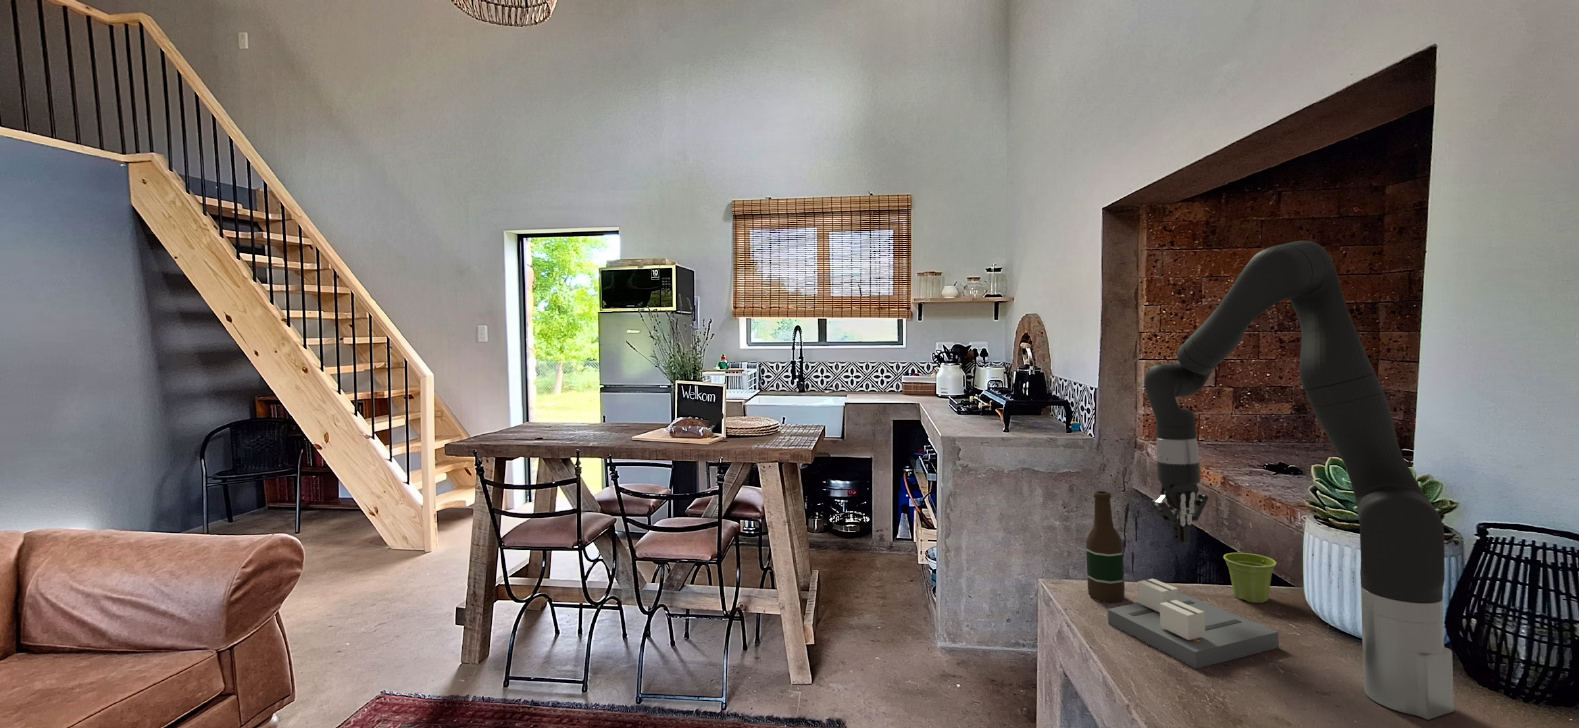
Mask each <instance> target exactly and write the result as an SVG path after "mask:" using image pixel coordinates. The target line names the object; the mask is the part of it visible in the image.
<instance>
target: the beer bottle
mask: <svg viewBox="0 0 1579 728" xmlns="http://www.w3.org/2000/svg"><path fill="white" fill-rule="evenodd" d="M1092 497H1093V498H1094V516H1093V517H1094V520H1093V526H1092V528H1091V530H1090V532H1089V533H1088V535H1087V538H1086V542H1085V543H1086V545H1085V547H1086V548H1085V551H1086V552H1085V553H1086V555H1085V556H1086V573H1087V575H1086V576H1087V577H1086V578H1087V591H1088V592H1087V593H1088V596H1089V595H1090V596H1091V597H1090V596H1089V597H1090V598H1092V597H1093V598H1092V599H1094V600H1095V599H1096V600H1095V601H1097V600H1099V601H1098V602H1102V601H1105V602H1104V603H1108V602H1114V603H1120V602H1123V600H1124V598H1125V589H1126V588H1125V566H1124V563H1125V562H1124V547H1123V541H1122V537H1121V536H1120V533H1119V532H1118V531H1117V530H1116V528H1115V527H1114V522H1113V514H1112V505H1111V498H1112V494H1111V492H1110V491H1109V492H1108V491H1105V490H1097V491H1094V494H1093V496H1092Z"/></svg>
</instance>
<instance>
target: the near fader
mask: <svg viewBox="0 0 1579 728" xmlns="http://www.w3.org/2000/svg"><path fill="white" fill-rule="evenodd" d="M1160 627H1162V628H1164V629H1166V630H1168V631H1171V632H1173V633H1175V634H1177V635H1179V636H1181V637H1183V638H1185V639H1187V640H1191V639H1195V638H1199V637H1204V636H1205V613H1204V611H1201V610H1199V609H1196V608H1194V607H1192V606H1189V605H1187V604H1184V603H1182V602H1180V601H1177V600H1173V601H1166V602H1164V603H1160Z"/></svg>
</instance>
